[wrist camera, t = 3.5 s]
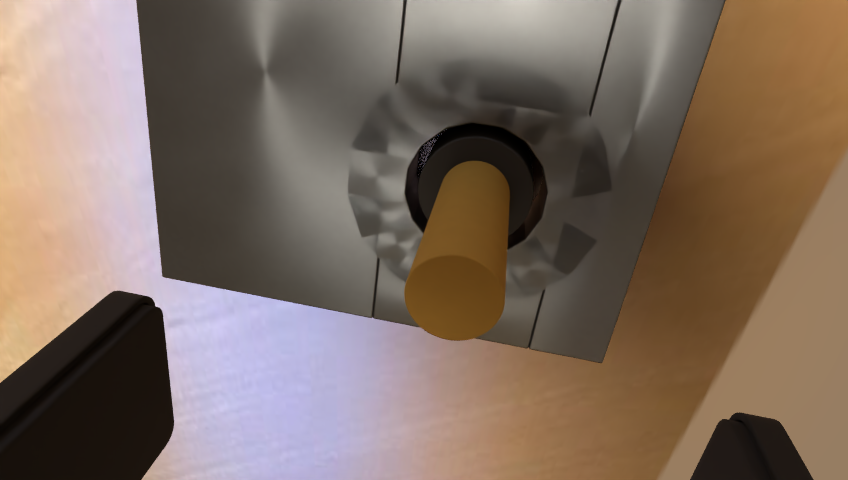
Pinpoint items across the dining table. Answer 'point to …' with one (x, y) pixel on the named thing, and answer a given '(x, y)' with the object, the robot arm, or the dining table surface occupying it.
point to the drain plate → (414, 143)
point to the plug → (468, 229)
